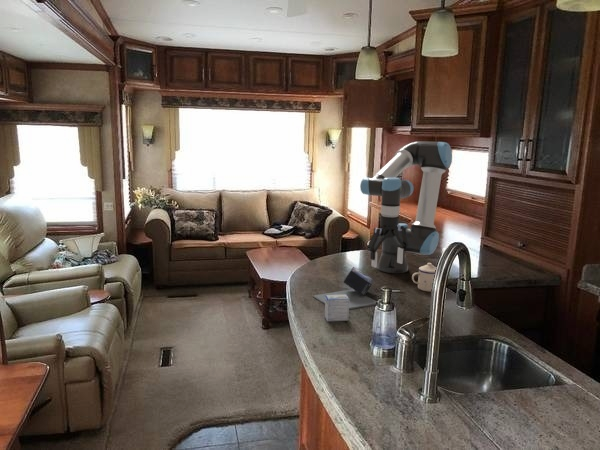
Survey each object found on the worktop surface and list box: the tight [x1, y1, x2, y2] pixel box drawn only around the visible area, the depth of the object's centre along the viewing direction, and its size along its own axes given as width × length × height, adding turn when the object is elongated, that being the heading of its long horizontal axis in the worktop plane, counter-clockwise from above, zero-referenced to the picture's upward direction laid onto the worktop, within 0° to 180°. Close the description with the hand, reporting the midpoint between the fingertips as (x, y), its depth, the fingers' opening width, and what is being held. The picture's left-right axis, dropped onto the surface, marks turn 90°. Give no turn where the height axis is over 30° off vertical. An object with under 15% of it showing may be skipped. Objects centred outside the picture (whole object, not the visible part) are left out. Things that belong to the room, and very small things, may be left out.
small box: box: [342, 266, 374, 296], centre depth 200 cm, size 11×6×10 cm
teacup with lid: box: [411, 262, 437, 292], centre depth 209 cm, size 12×9×12 cm
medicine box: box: [324, 295, 350, 322], centre depth 172 cm, size 8×4×9 cm, turn 100°
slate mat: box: [312, 288, 378, 310], centre depth 193 cm, size 20×18×1 cm
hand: (387, 265), depth 200 cm, fingers open, 13 cm apart
